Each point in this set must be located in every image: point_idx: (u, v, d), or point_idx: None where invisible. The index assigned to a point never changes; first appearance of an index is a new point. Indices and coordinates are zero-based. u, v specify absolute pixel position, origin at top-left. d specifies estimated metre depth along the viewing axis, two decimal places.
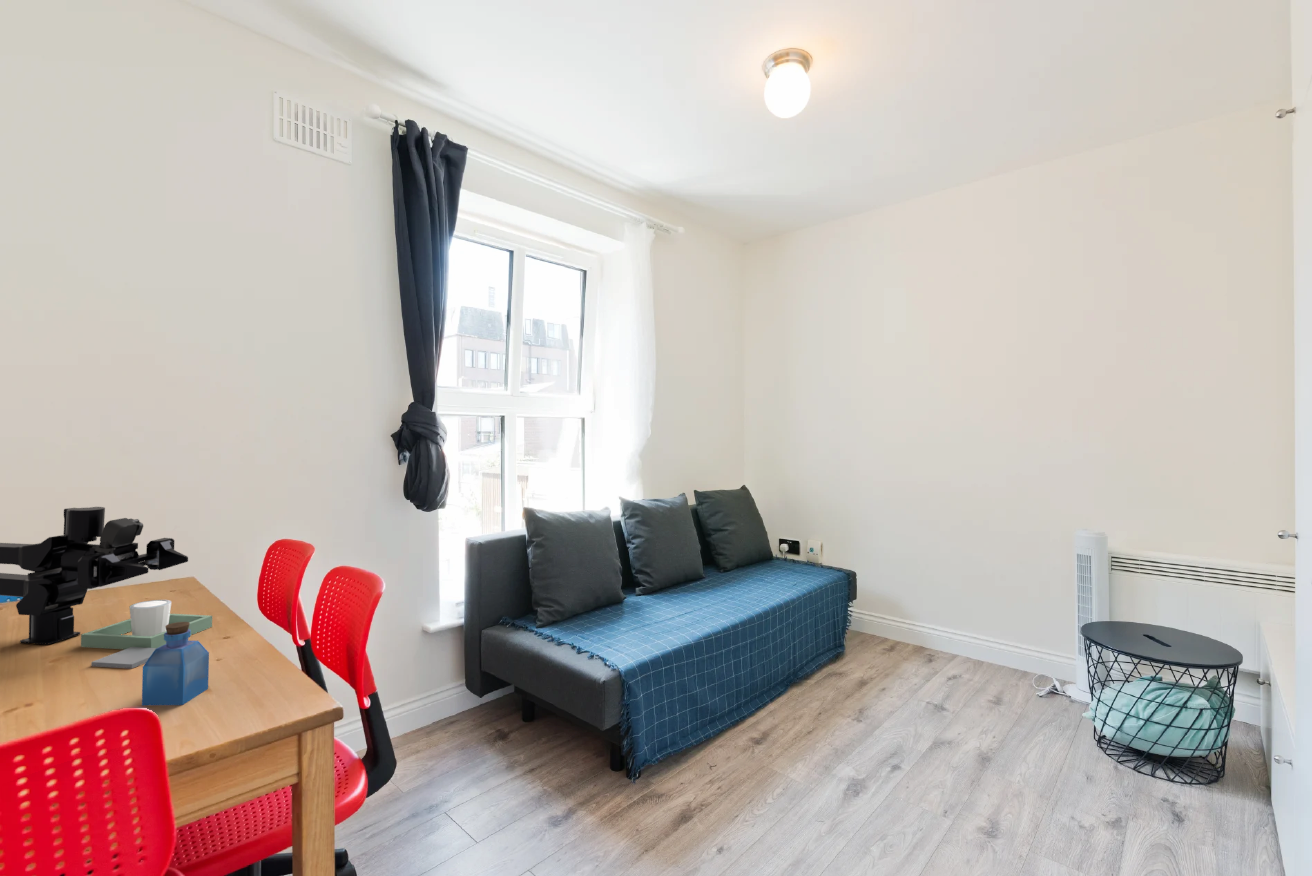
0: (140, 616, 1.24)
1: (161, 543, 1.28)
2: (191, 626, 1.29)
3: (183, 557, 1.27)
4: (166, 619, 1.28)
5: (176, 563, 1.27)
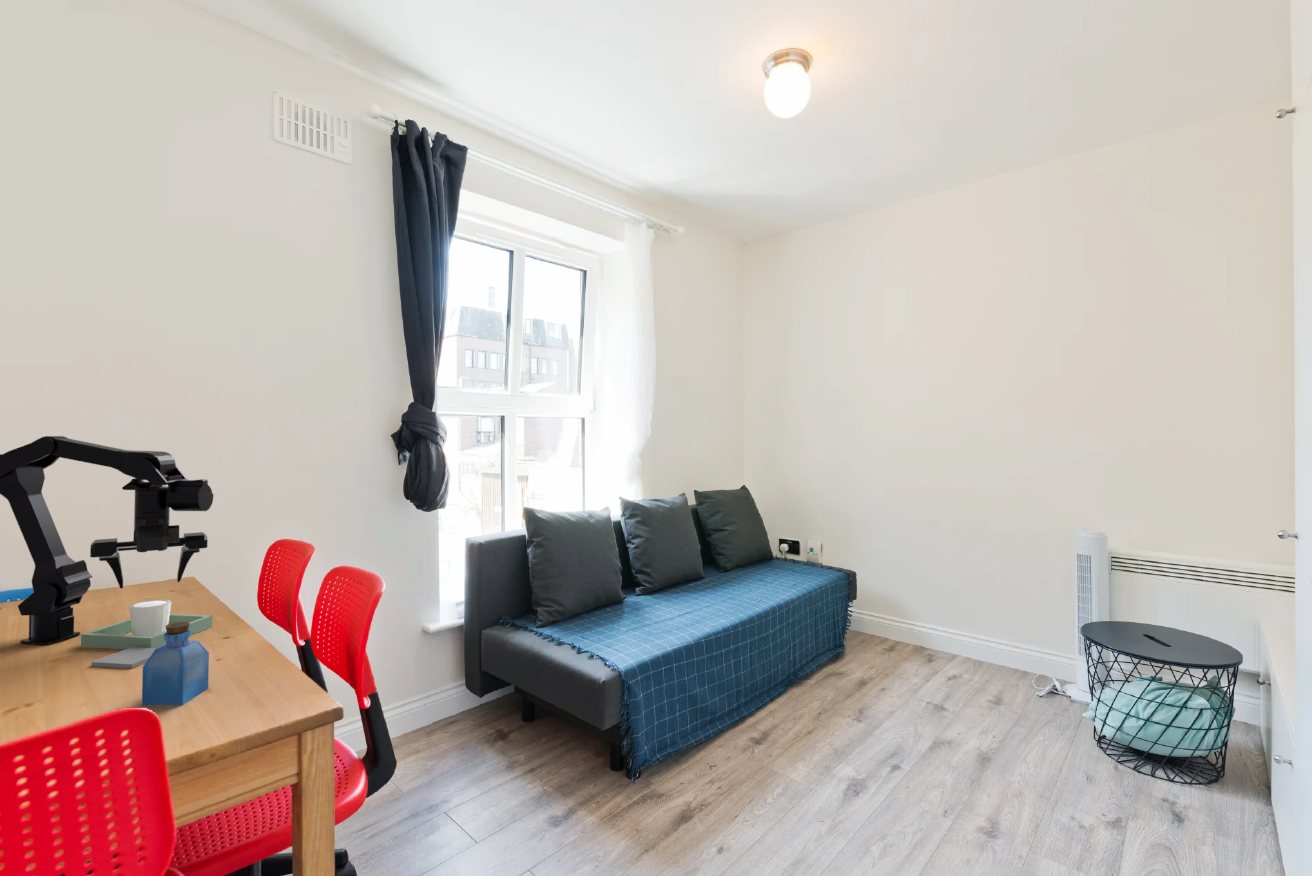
0: (140, 616, 1.24)
1: (184, 553, 1.29)
2: (191, 626, 1.29)
3: (177, 579, 1.30)
4: (166, 619, 1.28)
5: None
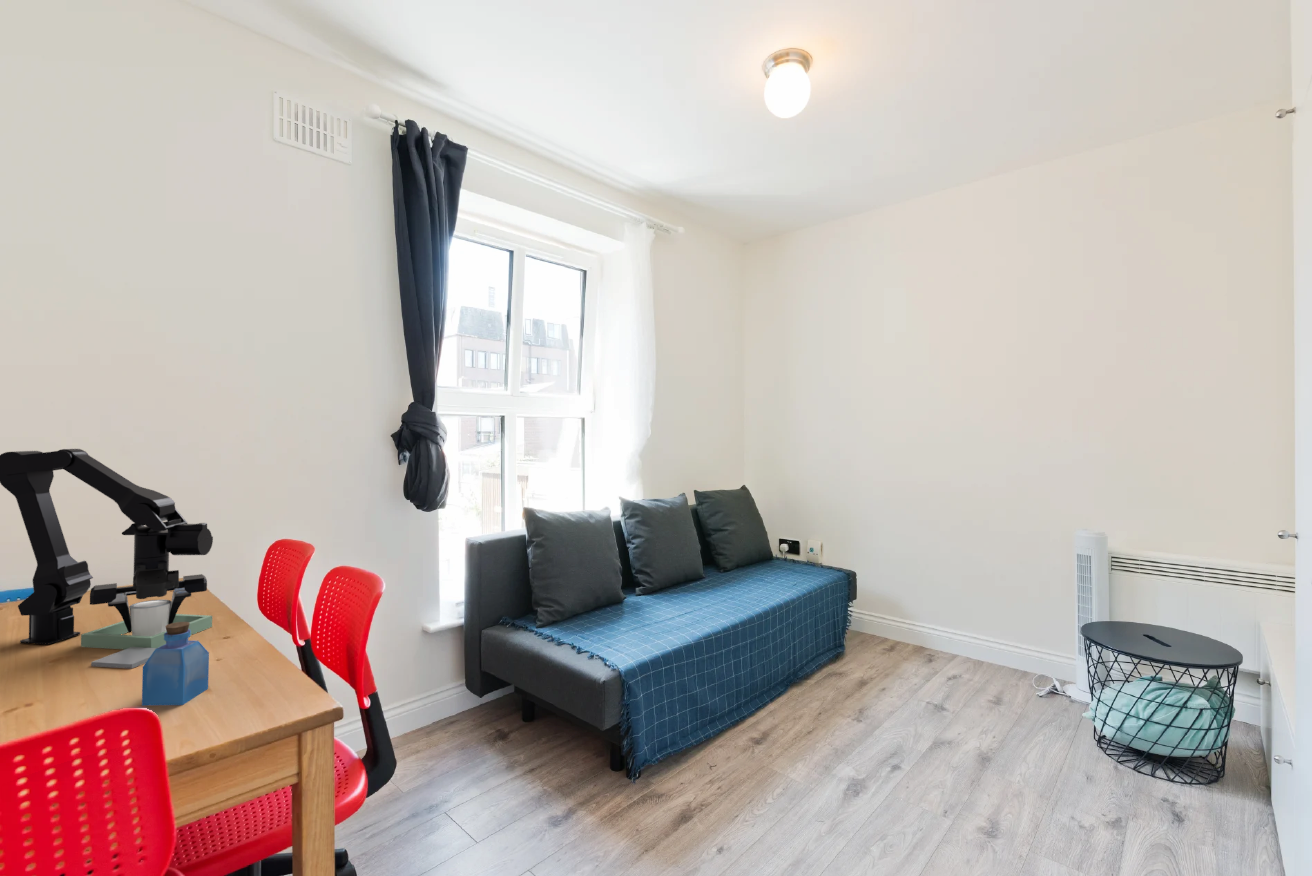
0: (140, 616, 1.24)
1: (175, 598, 1.28)
2: (191, 626, 1.29)
3: None
4: (166, 619, 1.28)
5: None
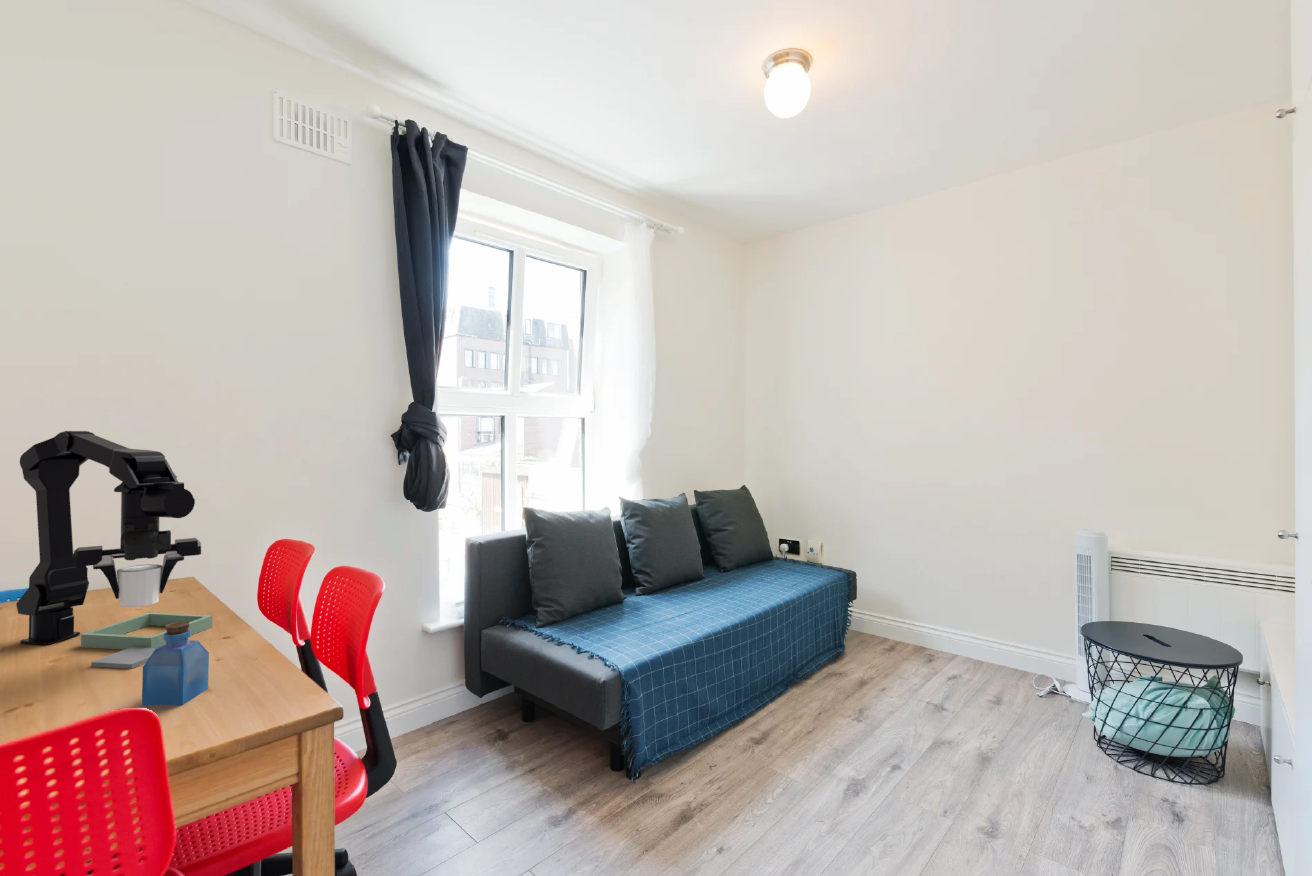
0: (128, 580, 1.15)
1: (166, 561, 1.18)
2: (191, 626, 1.29)
3: None
4: (157, 584, 1.18)
5: None
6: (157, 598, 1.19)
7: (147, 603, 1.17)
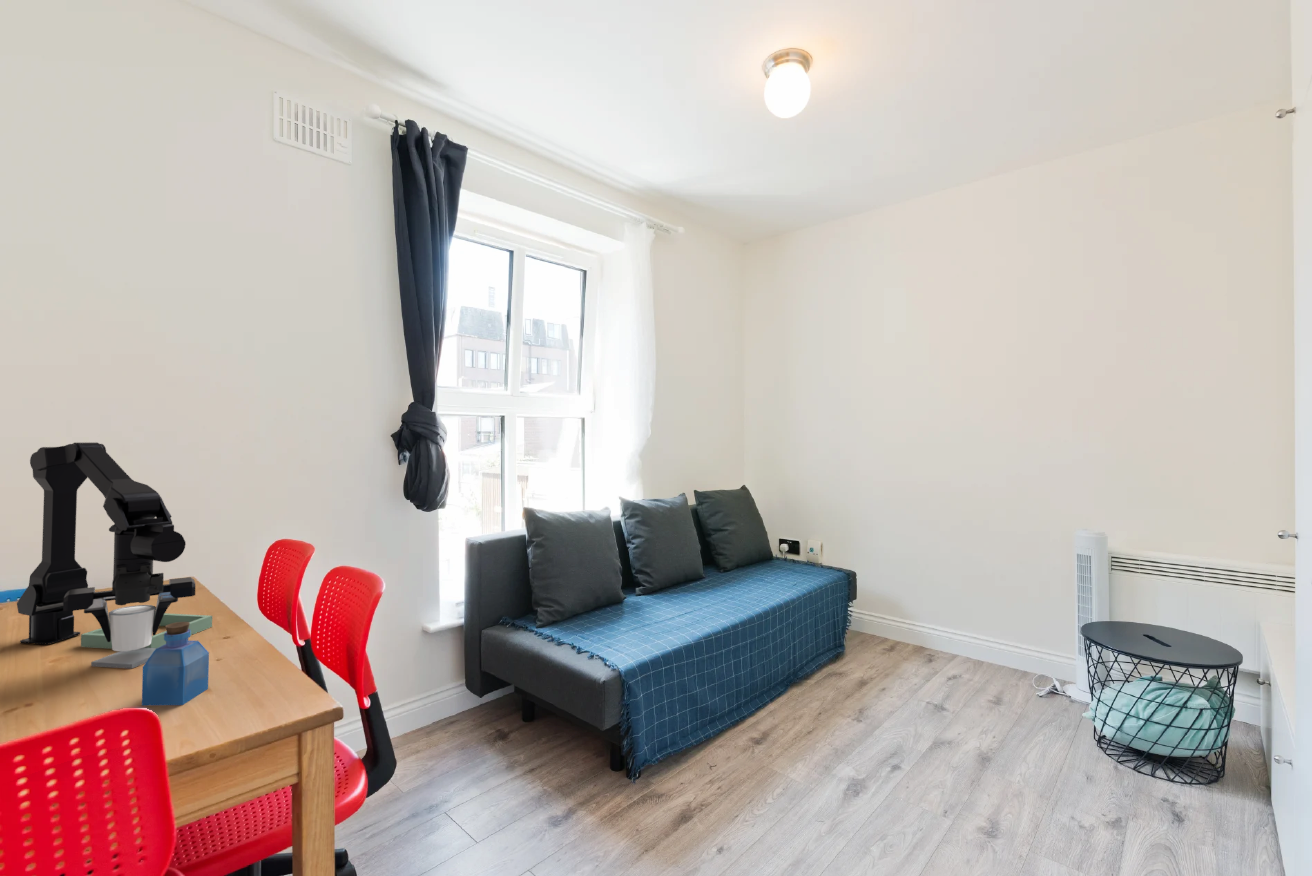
0: (120, 623, 1.12)
1: (159, 603, 1.15)
2: (191, 626, 1.29)
3: None
4: (150, 627, 1.15)
5: None
6: (150, 641, 1.16)
7: (139, 647, 1.14)
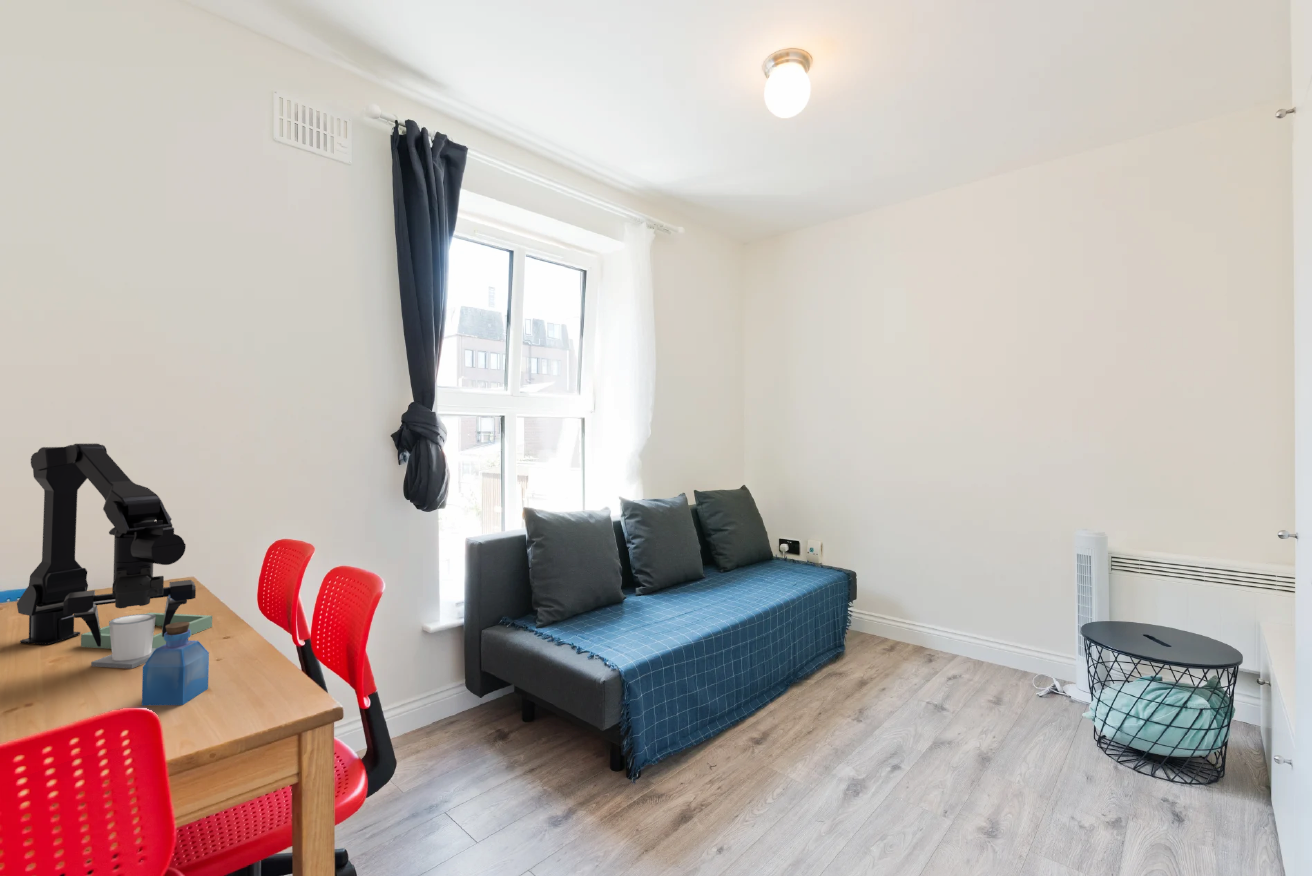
0: (120, 632, 1.12)
1: (169, 605, 1.16)
2: (191, 626, 1.29)
3: (162, 633, 1.18)
4: (150, 636, 1.15)
5: None
6: (150, 650, 1.16)
7: (139, 656, 1.14)
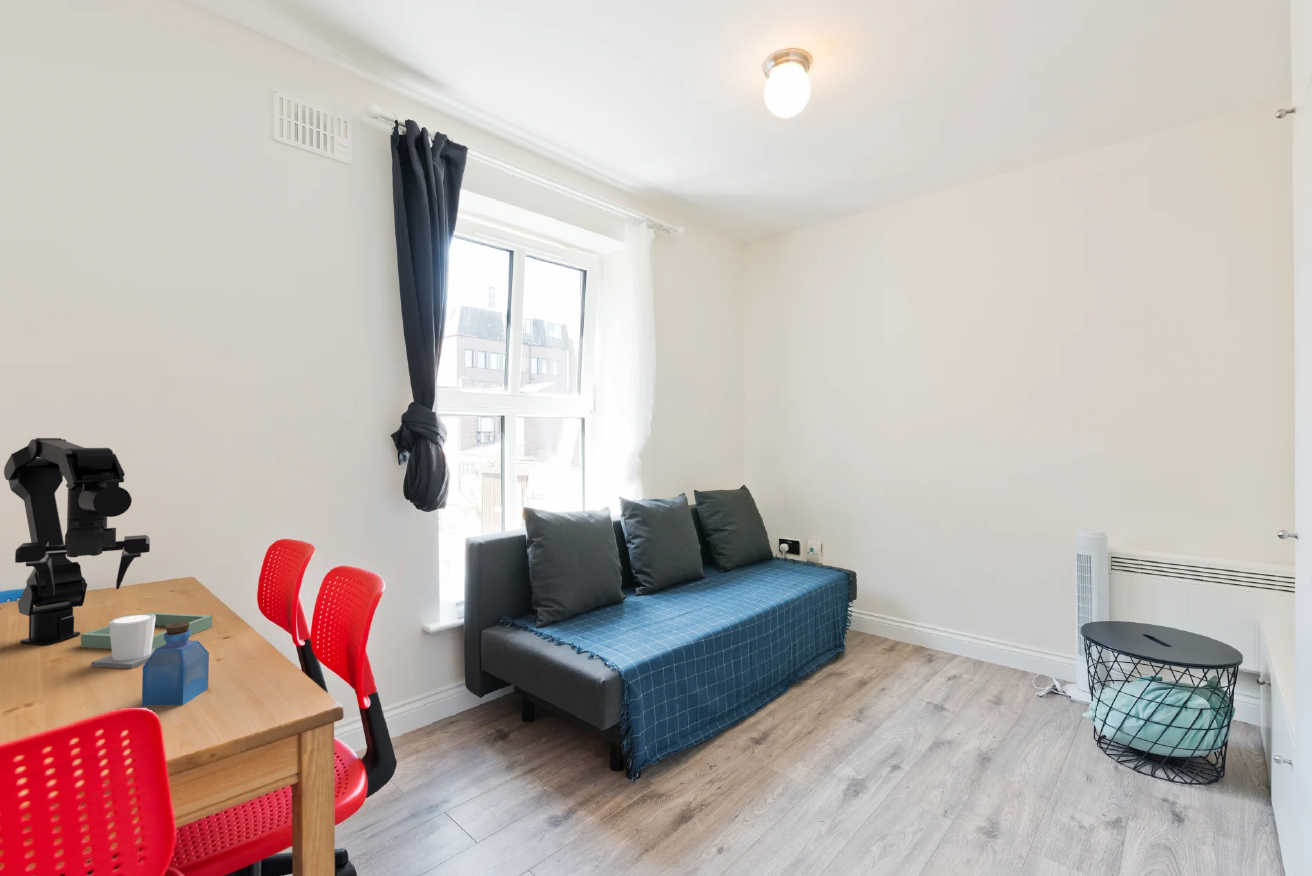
0: (120, 633, 1.12)
1: (122, 558, 1.19)
2: (191, 626, 1.29)
3: (116, 585, 1.20)
4: (150, 636, 1.15)
5: (117, 576, 1.21)
6: (150, 650, 1.16)
7: (139, 656, 1.14)
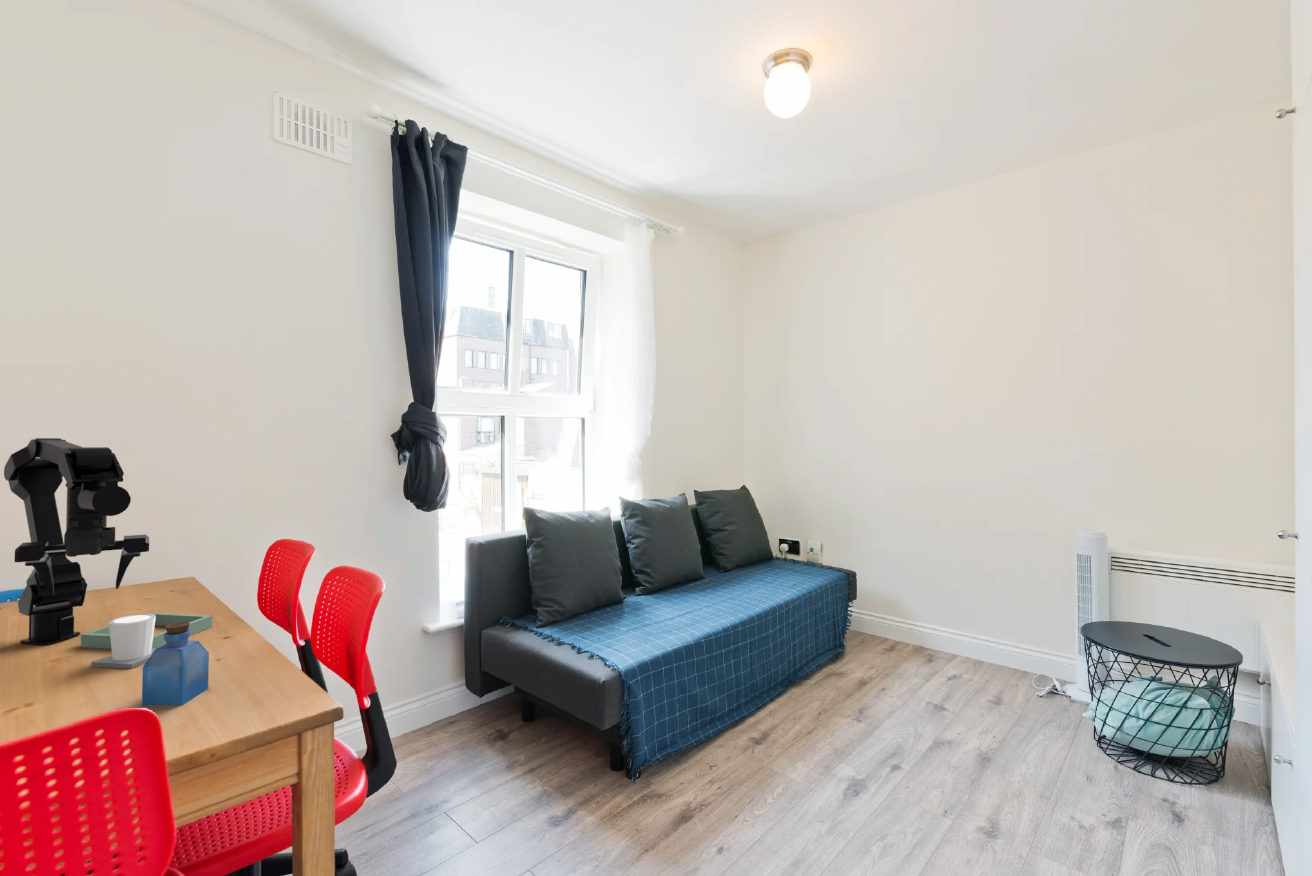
0: (120, 633, 1.12)
1: (122, 557, 1.19)
2: (191, 626, 1.29)
3: None
4: (150, 636, 1.15)
5: None
6: (150, 650, 1.16)
7: (139, 656, 1.14)
